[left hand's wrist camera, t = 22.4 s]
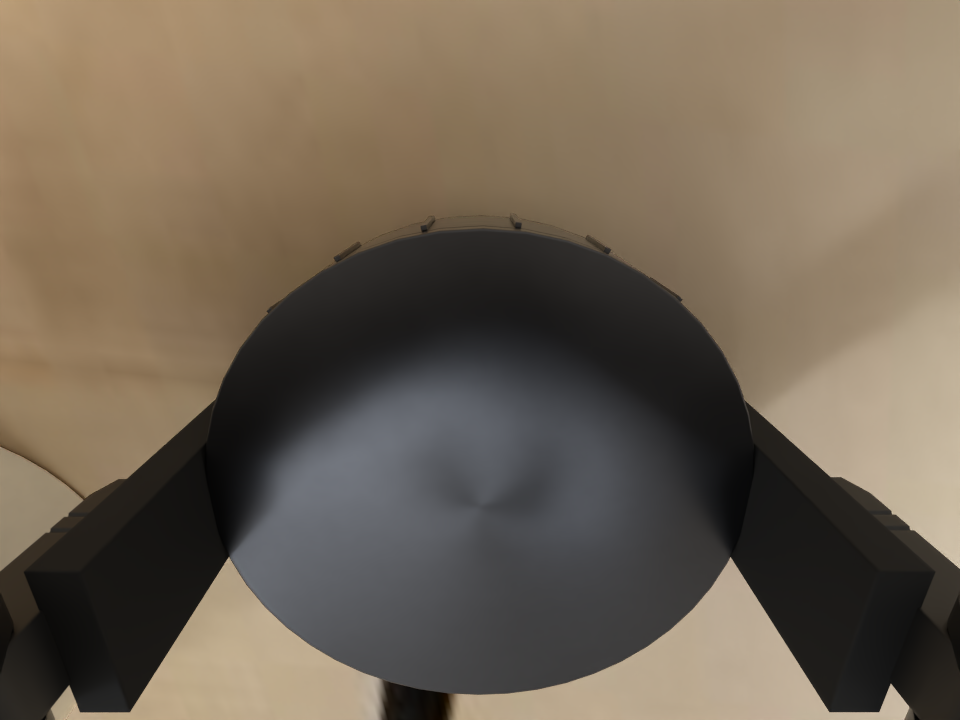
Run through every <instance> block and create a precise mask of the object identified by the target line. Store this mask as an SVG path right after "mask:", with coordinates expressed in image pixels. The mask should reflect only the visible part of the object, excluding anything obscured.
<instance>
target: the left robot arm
mask: <svg viewBox="0 0 960 720" xmlns="http://www.w3.org/2000/svg"><path fill="white" fill-rule="evenodd" d="M215 401H216V400H215ZM215 401H213V402H212V403H211V404H210V405H209V406H208V407H207V408H206V409H204V410H203V411H202V412H201V413H200V414H199V415H198V416H197V417H196V418H194V419H193V420H192V421H191V422H190V423H189V424H188V425H187V426H186V427H184V428H183V429H182V430H181V431H180V432H179V433H178V434H177V435H175V436H174V437H173V438H172V439H171V440H170V441H169V442H168V443H167V444H165V445H164V446H163V447H162V448H161V449H160V450H159V451H158V452H157V453H155V454H154V455H153V456H152V457H151V458H150V459H149V460H148V461H146V462H145V463H144V464H143V465H142V466H141V467H140V468H139V469H138V470H136V471H135V472H134V473H133V474H132V475H131V476H130V477H129V478H128V479H118V480H116V481H115V482H113V483H111V484H109V485H107V486H105V487H103V488H102V489H100V490H98V491H96V492H94V493H92V494H91V495H89V496H88V497H87V498H86V499H85V500H83V501H82V502H81V503H80V504H79V505H77V506H76V507H75V508H74V509H73V510H72V511H70V512H69V515H68V517H63V518H62V519H61V520H60V521H59V522H58V523H56V524H55V525H54V526H53V527H52V528H50V532H49V533H45V534H43V535H42V536H41V537H40V538H39V539H38V540H36V541H35V542H34V543H33V544H32V545H31V546H29V547H28V548H27V549H26V550H25V551H23V552H22V553H21V554H20V555H19V556H18V557H16V558H15V559H14V560H13V561H12V562H11V563H9V564H8V565H7V566H6V567H5V568H4V569H2V570H1V571H0V720H55V717H54V715H53V713H52V710H51V708H52V706H53V705H54V704H55V703H56V701H57V700H58V699H59V698H60V696H61V695H62V694H63V692H64V691H65V690H66V689H67V687H68V686H70V688H71V691H72V693H73V696H74V698H75V701H76V703H77V706H78V708H79V711H80V712H130V711H131V710H132V708H133V706H134V705H135V703H136V702H137V700H138V699H139V697H140V695H141V694H142V692H143V691H144V689H145V688H146V686H147V684H148V683H149V681H150V680H151V678H152V677H153V675H154V673H155V672H156V670H157V669H158V667H159V666H160V664H161V662H162V661H163V659H164V658H165V656H166V655H167V653H168V651H169V650H170V648H171V647H172V645H173V644H174V642H175V640H176V639H177V637H178V636H179V634H180V633H181V631H182V629H183V628H184V626H185V625H186V623H187V622H188V620H189V618H190V617H191V615H192V614H193V612H194V611H195V609H196V607H197V606H198V604H199V603H200V601H201V600H202V598H203V596H204V595H205V593H206V592H207V590H208V589H209V587H210V585H211V584H212V582H213V581H214V579H215V578H216V576H217V574H218V573H219V571H220V570H221V568H222V567H223V565H224V563H225V562H226V560H227V559H228V557H229V555H228V553H227V550H226V548H225V546H224V544H223V542H222V540H221V537H220V535H219V533H218V529H217V525H216V521H215V516H214V512H213V508H212V503H211V499H210V494H209V489H208V484H207V479H206V442H207V436H208V431H209V425H210V419H211V414H212V409H213V406H214V404H215ZM745 403H746V407H747V410H748V413H749V418H750V424H751V430H752V436H753V443H754V476H753V481H752V486H751V490H750V495H749V499H748V504H747V508H746V513H745V517H744V521H743V526H742V530H741V534H740V538H739V540H738V542H737V544H736V546H735V548H734V550H733V552H732V554H731V556H730V557H731V558H732V560H733V561H734V563H735V564H736V566H737V568H738V569H739V571H740V572H741V574H742V575H743V577H744V579H745V580H746V582H747V583H748V585H749V586H750V588H751V590H752V591H753V593H754V594H755V596H756V597H757V599H758V601H759V602H760V604H761V605H762V607H763V608H764V610H765V612H766V613H767V615H768V616H769V618H770V619H771V621H772V623H773V624H774V626H775V627H776V629H777V630H778V632H779V634H780V635H781V637H782V638H783V640H784V641H785V643H786V645H787V646H788V648H789V649H790V651H791V652H792V654H793V656H794V657H795V659H796V660H797V662H798V663H799V665H800V667H801V668H802V670H803V671H804V673H805V674H806V676H807V678H808V679H809V681H810V682H811V684H812V685H813V687H814V689H815V690H816V692H817V693H818V695H819V696H820V698H821V700H822V701H823V703H824V704H825V706H826V707H827V709H828V711H829V712H879V711H880V709H881V706H882V704H883V701H884V699H885V696H886V694H887V691H888V689H889V686H890V684H892V685H893V686H894V688H895V689H896V690H897V692H898V693H899V694H900V695H901V697H902V698H903V699H904V700H905V702H906V703H907V704H908V705H909V707H910V708H909V710H908V713H907V715H906V717H905V720H960V569H959V568H958V567H957V566H956V565H954V564H953V563H952V562H951V561H950V560H949V559H947V558H946V557H945V556H944V555H943V554H941V553H940V552H939V551H938V550H937V549H936V548H934V547H933V546H932V545H931V544H930V543H928V542H927V541H926V540H925V539H924V538H923V537H921V536H920V535H919V534H918V533H917V532H915V531H914V530H910V528H909V526H908V525H907V524H906V523H905V522H904V521H902V520H901V519H900V518H899V517H898V516H897V515H892V513H891V510H889V509H888V508H887V507H886V506H885V505H884V504H882V503H881V502H880V501H879V500H878V499H876V498H875V497H874V496H873V495H872V494H871V493H869V492H867V491H865V490H864V489H862V488H860V487H858V486H856V485H854V484H852V483H851V482H849V481H847V480H845V479H843V478H841V477H830V476H829V475H827V474H826V473H825V472H824V471H823V470H822V469H821V468H820V467H818V466H817V465H816V464H815V463H814V462H813V461H812V460H811V459H810V458H808V457H807V456H806V455H805V454H804V453H803V452H802V451H801V450H800V449H798V448H797V447H796V446H795V445H794V444H793V443H792V442H791V441H789V440H788V439H787V438H786V437H785V436H784V435H783V434H782V433H781V432H779V431H778V430H777V429H776V428H775V427H774V426H773V425H772V424H771V423H769V422H768V421H767V420H766V419H765V418H764V417H763V416H762V415H760V414H759V413H758V412H757V411H756V410H755V409H754V408H753V407H752V406H750V405H749V404H748V403H747V402H746V401H745Z"/></svg>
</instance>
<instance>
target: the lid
mask: <svg viewBox="0 0 960 720" xmlns="http://www.w3.org/2000/svg"><path fill="white" fill-rule="evenodd" d="M610 251H611V249H610V248H608V247H607V246H605V245H604V244H602V243H600V242H599V241H597V240H596V239H594V238H593V237H591V236H589V235H587V237H586V238H584V237H581V236H579V235H576V234H573V233H570V232H568V231H565V230H562V229H559V228H557V227H554V226H551V225H547V224H542V223H537V222H533V221H528V220H523V219H519V218H518V217H517V216H516V214H510V218H508V217H495V216H465V217H448V218H443V219H438V220H435V217H434V216H430V217H428V219H427V220H426V221H425V222H422V223H417V224H413V225H410V226H407V227H404V228H401V229H398V230H395V231H392V232H390V233H387V234H384V235H381V236H379V237H377V238H375V239H373V240H371V241H369V242H367V243H365V244H363V245H361V244H360V243H359V242H357V243H356V244H354V245H352V246H351V247H349V248H348V249H346V250H345V251H343V252H341V253H340V254H338V255H337V256H335V257H334V259H335V262H334V263H332V264H331V265H329V266H328V267H327V268H325V269H324V270H322V271H321V272H319V273H318V274H316V275H315V276H314V277H312V278H311V279H309V280H308V281H306V282H305V283H304V284H302V285H301V286H299V287H298V288H296V289H295V290H294V291H292V292H291V293H289V294H288V295H287V296H286V297H285V298H283V299H282V300H280V301H279V302H278V303H276V304H275V305H273V306H272V307H270V308H269V309H268V310H267V312H268V314H267V315H266V316H265V317H264V318H263V319H262V320H261V321H260V323H259V324H258V325H257V327H256V328H255V329H254V331H253V332H252V333H251V334H250V336H249V337H248V338H247V340H246V341H245V342H244V344H243V345H242V346H241V347H240V349H239V351H238V353H237V354H236V356H235V358H234V360H233V362H232V364H231V365H230V367H229V369H228V371H227V373H226V375H225V376H224V378H223V381H222V384H221V387H220V389H219V392H218V395H217V398H216V401H215V404H214V406H213V409H212V414H211V419H210V425H209V431H208V436H207V442H206V479H207V484H208V489H209V494H210V499H211V503H212V508H213V512H214V516H215V521H216V525H217V529H218V533H219V535H220V537H221V540H222V542H223V544H224V546H225V548H226V550H227V553H228V555H229V557H230V559H231V561H232V562H233V564H234V566H235V567H236V569H237V570H238V572H239V574H240V575H241V577H242V578H243V580H244V581H245V583H246V585H247V586H248V587H249V588H250V589H251V591H252V592H253V593H254V594H255V595H256V597H257V598H258V599H259V600H260V601H261V603H262V604H263V605H264V606H265V607H266V608H267V609H268V610H269V611H270V612H271V613H272V614H273V615H274V616H275V617H276V618H277V619H278V620H279V621H280V622H282V623H283V624H284V625H285V626H286V627H287V628H288V629H290V630H291V631H292V632H294V633H295V634H296V635H298V636H299V637H300V638H302V639H303V640H304V641H306V642H307V643H308V644H310V645H311V646H313V647H314V648H316V649H318V650H320V651H321V652H323V653H325V654H326V655H328V656H330V657H331V658H333V659H335V660H337V661H339V662H341V663H343V664H345V665H348V666H350V667H352V668H354V669H356V670H358V671H361V672H363V673H366V674H369V675H372V676H374V677H377V678H380V679H383V680H386V681H389V682H392V683H397V684H401V685H405V686H409V687H413V688H417V689H423V690H430V691H437V692H444V693H454V694H474V695H483V694H508V693H515V692H523V691H530V690H538V689H542V688H546V687H551V686H555V685H559V684H564V683H567V682H570V681H573V680H576V679H579V678H582V677H585V676H588V675H591V674H594V673H597V672H599V671H601V670H603V669H606V668H608V667H610V666H612V665H614V664H617V663H619V662H621V661H623V660H625V659H626V658H628V657H630V656H632V655H633V654H635V653H637V652H639V651H640V650H642V649H644V648H646V647H647V646H649V645H650V644H651V643H653V642H654V641H655V640H657V639H658V638H660V637H661V636H662V635H664V634H665V633H666V632H668V631H669V630H670V629H672V628H673V627H674V626H675V625H676V624H677V623H678V622H679V621H680V620H681V619H682V618H684V617H685V616H686V615H687V614H688V613H689V612H690V611H691V610H692V609H693V608H694V607H695V606H696V605H697V603H698V602H699V601H700V600H701V599H702V598H703V596H704V595H705V594H706V593H707V592H708V591H709V589H710V588H711V587H712V586H713V584H714V582H715V581H716V579H717V578H718V576H719V575H720V573H721V572H722V570H723V569H724V567H725V566H726V564H727V563H728V561H729V559H730V556H731V554H732V552H733V550H734V548H735V546H736V544H737V542H738V540H739V538H740V534H741V530H742V526H743V521H744V517H745V513H746V508H747V504H748V499H749V495H750V490H751V486H752V481H753V476H754V443H753V436H752V430H751V424H750V418H749V413H748V410H747V407H746V403H745V400H744V397H743V394H742V391H741V388H740V385H739V382H738V380H737V378H736V377H735V375H734V373H733V371H732V369H731V367H730V365H729V363H728V361H727V359H726V357H725V355H724V353H723V352H722V350H721V349H720V348H719V346H718V345H717V343H716V342H715V341H714V339H713V338H712V337H711V335H710V334H709V333H708V331H707V330H706V329H705V327H704V326H703V325H702V323H701V322H700V321H699V320H698V319H697V318H696V317H695V316H694V315H693V314H692V313H691V312H690V311H689V310H688V309H687V308H686V307H685V306H684V305H683V304H682V303H681V301H682V299H681V298H680V297H679V296H678V295H677V294H675V293H674V292H672V291H671V290H669V289H668V288H666V287H665V286H663V285H662V284H660V283H659V282H657V281H656V280H654V279H653V278H651V277H650V278H649V277H647V276H646V275H645V274H643V273H642V272H640V271H639V270H637V269H636V268H634V267H633V266H631V265H630V264H628V263H627V262H625V261H624V260H622V259H621V258H619V257H618V256H616V255H615V254H613V253H612V252H610Z"/></svg>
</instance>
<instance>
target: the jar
mask: <svg viewBox="0 0 960 720" xmlns="http://www.w3.org/2000/svg"><path fill="white" fill-rule="evenodd" d="M82 501H83V499H82V498H81V497H80V496H79V495H78V494H76V493H75V492H74V491H73V490H72V489H71V488H70V487H68V486H67V485H66V484H65V483H63V482H62V481H60V480H59V479H57V478H56V477H55V476H53V475H52V474H50V473H49V472H48V471H46V470H45V469H43V468H41V467H39V466H38V465H36V464H34V463H32V462H31V461H29V460H27V459H26V458H24V457H22V456H20V455H17V454H15V453H13V452H11V451H9V450H7V449H5V448H2V447H0V571H1V570H2V569H4V568H5V567H6V566H7V565H8V564H9V563H11V562H12V561H13V560H14V559H15V558H16V557H18V556H19V555H20V554H21V553H22V552H23V551H25V550H26V549H27V548H28V547H29V546H31V545H32V544H33V543H34V542H35V541H36V540H38V539H39V538H40V537H41V536H42V535H43V534H45V533H49V532H50V528H52V527H53V526H54V525H55V524H56V523H58V522H59V521H60V520H61V519H62V518H63V517H68V515H69V512H70V511H72V510H73V509H74V508H75V507H76V506H77V505H79V504H80V503H81V502H82ZM76 706H77V703H76V701H75V698H74V696H73V693H72V691H71V688H70V686H68V687H67V689H66V690H65V691H64V692H63V694H62V695H61V696H60V698H59V699H58V700H57V701H56V703H55V704H54V705H53V706H52V708H51V710H52V713H53V715H54V717H55V720H66V719H67V718H68V717H69V715H70V714H71V713H72V711H73V710H74V709H75V707H76Z"/></svg>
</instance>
